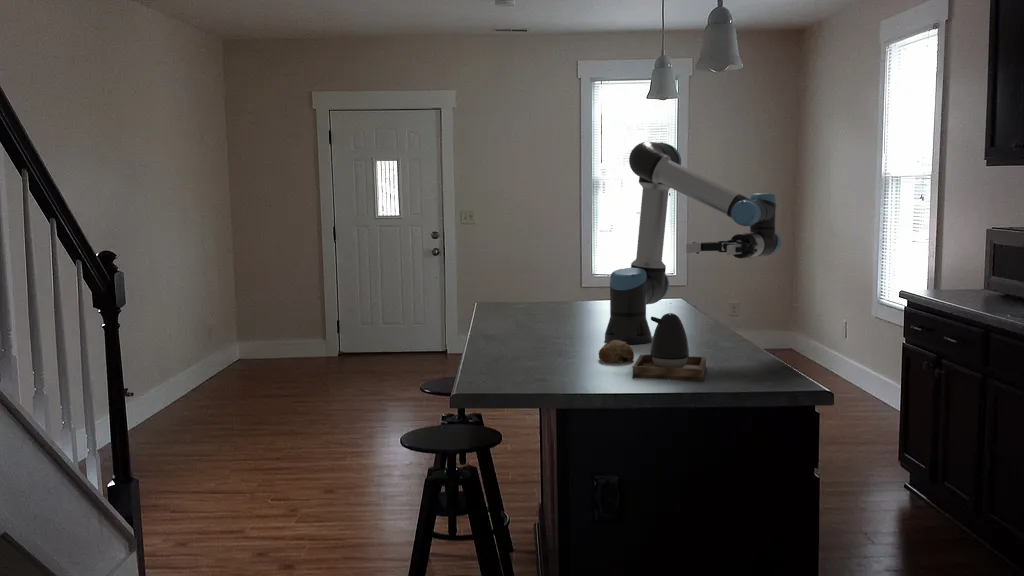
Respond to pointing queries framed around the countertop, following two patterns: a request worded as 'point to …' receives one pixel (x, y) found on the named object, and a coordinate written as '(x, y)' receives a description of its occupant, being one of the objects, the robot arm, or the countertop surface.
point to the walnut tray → (669, 369)
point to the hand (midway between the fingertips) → (707, 249)
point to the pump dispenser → (669, 342)
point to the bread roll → (616, 352)
